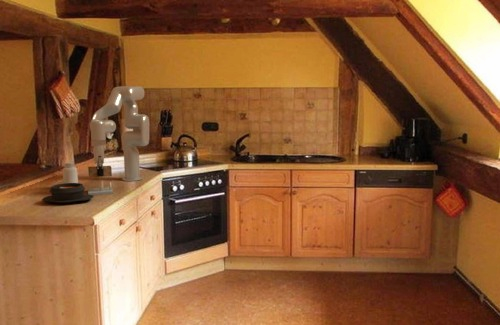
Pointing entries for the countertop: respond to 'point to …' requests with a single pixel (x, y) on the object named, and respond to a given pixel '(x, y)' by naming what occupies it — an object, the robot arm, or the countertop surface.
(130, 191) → the countertop surface
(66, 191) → the black low round piece
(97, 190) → the base
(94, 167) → the wooden h-shaped stand
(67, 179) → the pill bottle
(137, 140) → the robot arm
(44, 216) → the countertop surface
